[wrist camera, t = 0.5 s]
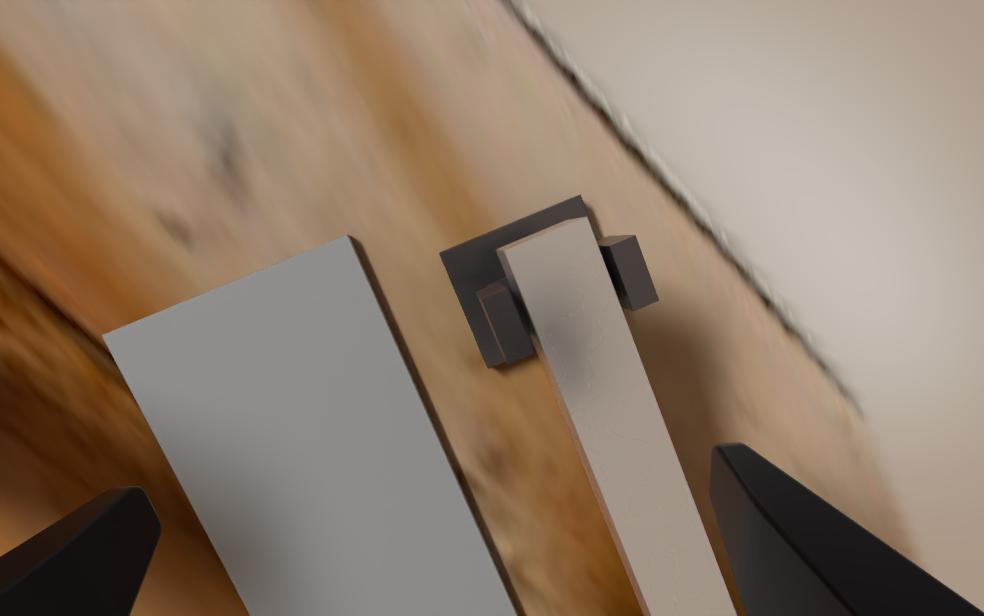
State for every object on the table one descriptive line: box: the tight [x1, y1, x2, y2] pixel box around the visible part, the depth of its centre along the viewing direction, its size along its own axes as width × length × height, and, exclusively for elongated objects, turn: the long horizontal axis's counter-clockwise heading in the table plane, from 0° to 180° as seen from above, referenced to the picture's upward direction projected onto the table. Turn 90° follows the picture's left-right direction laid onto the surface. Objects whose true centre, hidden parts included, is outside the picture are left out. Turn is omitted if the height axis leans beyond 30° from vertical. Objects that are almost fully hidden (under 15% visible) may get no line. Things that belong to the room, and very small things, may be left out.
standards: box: [439, 195, 738, 616], centre depth 21 cm, size 24×6×7 cm, turn 22°
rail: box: [496, 217, 737, 616], centre depth 18 cm, size 23×2×2 cm, turn 22°
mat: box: [102, 235, 518, 616], centre depth 24 cm, size 28×10×1 cm, turn 22°
